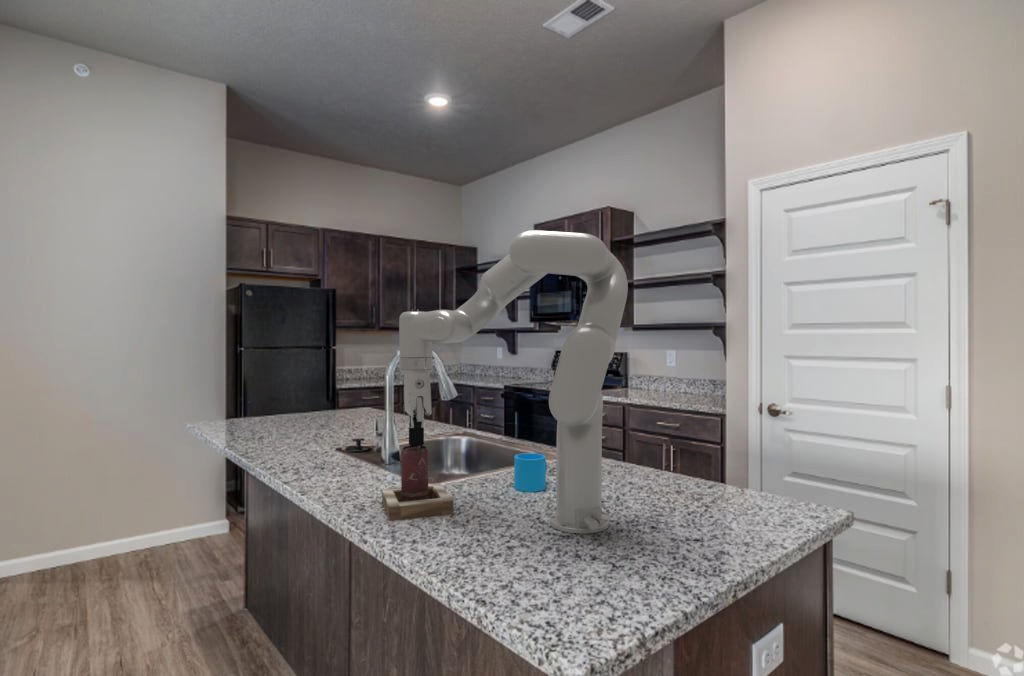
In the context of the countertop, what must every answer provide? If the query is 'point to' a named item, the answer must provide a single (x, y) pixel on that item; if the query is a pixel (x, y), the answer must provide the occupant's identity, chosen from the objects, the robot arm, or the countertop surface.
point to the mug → (530, 472)
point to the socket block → (417, 504)
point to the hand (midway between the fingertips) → (416, 445)
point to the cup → (414, 473)
